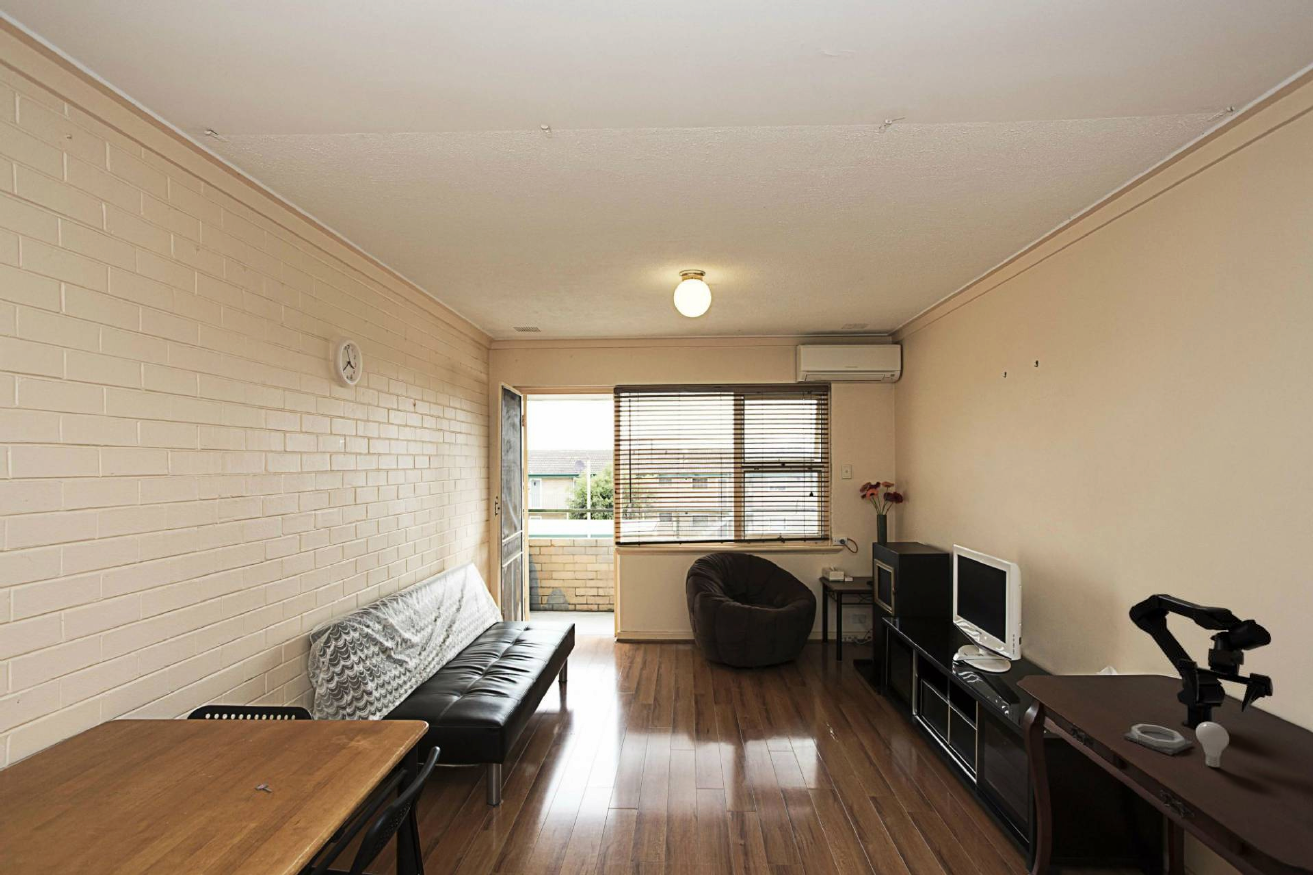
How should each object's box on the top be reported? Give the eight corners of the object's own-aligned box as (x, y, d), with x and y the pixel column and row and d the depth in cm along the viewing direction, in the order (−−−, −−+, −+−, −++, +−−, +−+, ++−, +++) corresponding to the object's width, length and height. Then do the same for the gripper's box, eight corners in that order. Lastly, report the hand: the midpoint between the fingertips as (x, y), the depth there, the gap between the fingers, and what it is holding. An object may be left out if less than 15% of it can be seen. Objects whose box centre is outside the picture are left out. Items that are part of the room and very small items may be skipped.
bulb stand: (1146, 729, 184) (1145, 721, 184) (1192, 746, 175) (1192, 736, 175) (1123, 738, 179) (1123, 729, 179) (1170, 755, 170) (1170, 745, 170)
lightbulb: (1235, 774, 160) (1235, 729, 160) (1205, 772, 161) (1205, 727, 161) (1219, 761, 166) (1218, 718, 166) (1190, 759, 167) (1190, 716, 167)
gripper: (1177, 628, 179) (1167, 679, 172) (1270, 644, 165) (1264, 700, 158) (1185, 651, 184) (1175, 701, 177) (1275, 668, 170) (1269, 723, 163)
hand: (1218, 705), depth 169 cm, fingers open, 9 cm apart
